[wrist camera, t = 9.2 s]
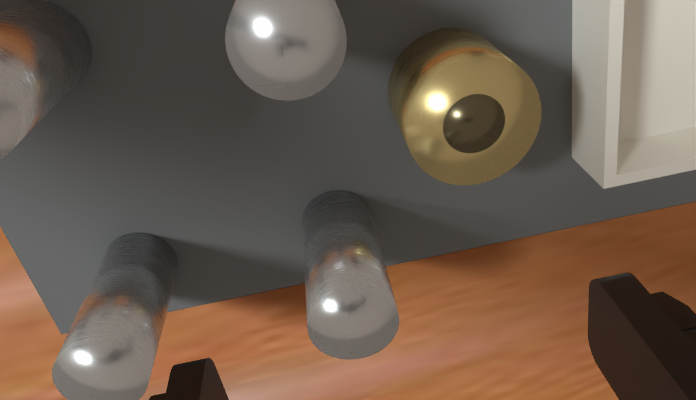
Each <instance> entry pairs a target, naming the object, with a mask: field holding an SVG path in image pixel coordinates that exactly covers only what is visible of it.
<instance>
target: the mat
mask: <svg viewBox="0 0 696 400" xmlns="http://www.w3.org/2000/svg"><path fill="white" fill-rule="evenodd" d="M25 1H31V0H0V13H2V12H3V11H5V10H7V9H9V8H11V7H13V6H15V5H17V4H19V3H22V2H25ZM41 1H47V2H51V3H54V4H56V5H59V6H61V7H63V8H64V9H66V10H67V11H69V12H70V13H71V14H73V15H74V16H75V17H76V18H77V19H78V20H79V21H80V23H81V24H82V25H83V27H84V28H85V30H86V32H87V34H88V36H89V39H90V42H91V47H92V58H91V63H90V66H89V68H88V70H87V72H86V73H85V74H84V75H83V77H82V78H81V79H80V80H79V81H78V82H77V83H76V84H75V85H74V86H73V87H72V88H71V89H70V90H69V91H68V92H67V93H66V94H65V95H64V96H63V97H62V99H61V100H60V101H59V102H58V103H57V104H56V105H55V106H54V107H53V108H52V109H51V110H50V111H49V112H48V113H47V114H46V115H45V116H44V117H43V118H42V119H41V120H40V121H39V123H38V124H37V125H36V126H35V127H34V128H33V129H32V130H31V131H30V132H29V133H28V134H27V135H26V136H25V137H24V138H23V139H22V140H21V141H20V142H19V143H18V144H17V145H16V146H15V148H14V149H13V150H12V151H11V152H10V153H9V154H8V155H6V156H5V157H4V158H3V159H1V160H0V226H1V228H2V230H3V232H4V233H5V235H6V237H7V239H8V241H9V242H10V244H11V246H12V248H13V249H14V251H15V253H16V255H17V256H18V258H19V260H20V262H21V263H22V265H23V267H24V269H25V270H26V272H27V274H28V276H29V278H30V279H31V281H32V283H33V285H34V286H35V288H36V290H37V292H38V293H39V295H40V297H41V299H42V300H43V302H44V304H45V306H46V307H47V309H48V311H49V313H50V315H51V316H52V318H53V320H54V322H55V323H56V325H57V327H58V329H59V330H60V332H61V334H65V333H69V331H70V328H71V326H72V324H73V322H74V320H75V318H76V315H77V313H78V311H79V309H80V307H81V305H82V302H83V300H84V298H85V296H86V294H87V291H88V289H89V287H90V285H91V283H92V281H93V278H94V276H95V274H96V272H97V270H98V268H99V265H100V263H101V261H102V259H103V257H104V255H105V252H106V250H107V248H108V246H109V245H110V244H111V243H112V242H113V241H114V240H115V239H116V238H118V237H120V236H122V235H124V234H128V233H134V232H142V233H149V234H152V235H155V236H158V237H160V238H161V239H163V240H165V241H166V242H167V243H168V244H169V245H170V246H171V247H172V248H173V249H174V251H175V253H176V255H177V258H178V271H177V275H176V279H175V283H174V287H173V290H172V294H171V298H170V302H169V306H168V310H167V312H170V311H175V310H180V309H185V308H189V307H194V306H199V305H204V304H208V303H213V302H218V301H223V300H228V299H232V298H237V297H242V296H247V295H251V294H256V293H261V292H266V291H270V290H275V289H280V288H285V287H290V286H294V285H299V284H304V283H305V273H304V255H303V237H302V216H303V212H304V210H305V208H306V207H307V205H308V204H309V203H310V201H312V200H313V199H314V198H315V197H317V196H318V195H320V194H322V193H325V192H328V191H332V190H345V191H350V192H353V193H355V194H357V195H359V196H360V197H362V198H363V199H364V200H365V201H366V202H367V203H368V205H369V207H370V209H371V212H372V215H373V219H374V223H375V227H376V231H377V235H378V238H379V242H380V246H381V250H382V254H383V257H384V261H385V265H386V266H390V265H394V264H399V263H404V262H409V261H414V260H418V259H423V258H428V257H433V256H437V255H442V254H447V253H452V252H456V251H461V250H466V249H471V248H476V247H480V246H485V245H490V244H495V243H499V242H504V241H509V240H514V239H518V238H523V237H528V236H533V235H538V234H542V233H547V232H552V231H557V230H561V229H566V228H571V227H576V226H580V225H585V224H590V223H595V222H600V221H604V220H609V219H614V218H619V217H623V216H628V215H633V214H638V213H642V212H647V211H652V210H657V209H662V208H666V207H671V206H676V205H681V204H685V203H690V202H695V201H696V170H692V171H687V172H682V173H677V174H672V175H668V176H663V177H658V178H653V179H649V180H644V181H639V182H634V183H630V184H625V185H620V186H615V187H611V188H606V189H603V188H602V187H601V186H600V185H599V184H598V183H597V182H596V181H595V180H594V179H593V178H592V177H591V176H590V175H589V174H588V173H587V172H586V171H585V170H584V169H583V168H582V167H581V166H580V165H579V164H578V163H577V162H576V161H575V160H574V159H573V158H572V0H335V2H336V4H337V7H338V9H339V12H340V14H341V17H342V19H343V22H344V25H345V29H346V36H347V47H346V54H345V58H344V61H343V64H342V66H341V68H340V70H339V72H338V73H337V75H336V76H335V78H334V79H333V80H332V81H331V82H330V83H329V84H328V85H327V86H326V87H325V88H324V89H322V90H321V91H319V92H318V93H316V94H314V95H312V96H309V97H307V98H303V99H299V100H292V101H284V100H276V99H272V98H268V97H266V96H263V95H261V94H259V93H257V92H255V91H254V90H252V89H251V88H249V87H248V86H247V85H246V84H245V83H244V82H243V81H242V80H241V79H240V78H239V77H238V75H237V74H236V72H235V71H234V69H233V67H232V65H231V63H230V61H229V58H228V55H227V51H226V44H225V32H226V26H227V22H228V19H229V16H230V13H231V10H232V8H233V5H234V2H235V0H41ZM444 28H461V29H466V30H470V31H473V32H475V33H477V34H479V35H481V36H482V37H484V38H485V39H486V40H488V41H489V42H490V43H491V44H492V45H494V46H495V47H496V48H497V49H498V50H500V51H501V52H502V53H503V54H504V55H506V56H507V57H508V58H509V59H510V60H512V61H513V62H514V63H515V64H516V65H518V66H519V67H520V68H521V69H522V70H523V71H525V72H526V73H527V74H528V76H529V77H530V78H531V79H532V81H533V82H534V84H535V86H536V88H537V91H538V93H539V96H540V101H541V111H542V112H541V122H540V127H539V131H538V133H537V136H536V138H535V141H534V143H533V145H532V146H531V148H530V149H529V151H528V152H527V154H526V155H525V156H524V157H523V159H522V160H521V161H520V162H519V163H518V164H517V165H515V166H514V167H513V168H512V169H510V170H509V171H508V172H506V173H504V174H503V175H501V176H499V177H497V178H495V179H493V180H490V181H487V182H484V183H480V184H475V185H453V184H449V183H445V182H442V181H439V180H437V179H435V178H433V177H431V176H430V175H429V174H427V173H426V172H425V171H423V170H422V168H421V167H420V166H419V165H418V164H417V163H416V161H415V160H414V158H413V156H412V154H411V153H410V150H409V148H408V146H407V144H406V142H405V139H404V137H403V135H402V133H401V131H400V128H399V126H398V124H397V122H396V120H395V117H394V115H393V113H392V110H391V108H390V104H389V99H388V83H389V78H390V75H391V72H392V69H393V67H394V65H395V63H396V61H397V59H398V58H399V56H400V55H401V53H402V52H403V51H404V50H405V49H406V48H407V47H408V46H409V45H410V44H411V43H412V42H414V41H415V40H416V39H418V38H419V37H421V36H423V35H425V34H427V33H429V32H432V31H435V30H439V29H444Z"/></svg>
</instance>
